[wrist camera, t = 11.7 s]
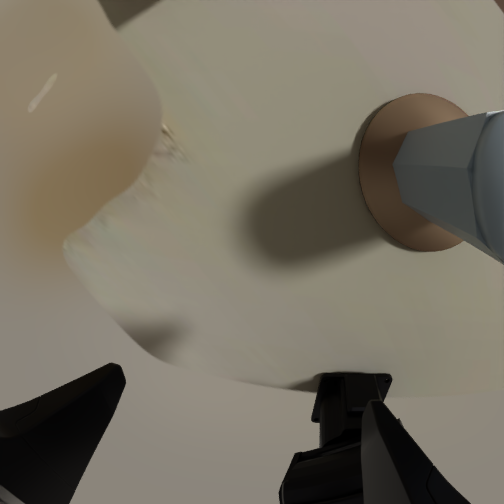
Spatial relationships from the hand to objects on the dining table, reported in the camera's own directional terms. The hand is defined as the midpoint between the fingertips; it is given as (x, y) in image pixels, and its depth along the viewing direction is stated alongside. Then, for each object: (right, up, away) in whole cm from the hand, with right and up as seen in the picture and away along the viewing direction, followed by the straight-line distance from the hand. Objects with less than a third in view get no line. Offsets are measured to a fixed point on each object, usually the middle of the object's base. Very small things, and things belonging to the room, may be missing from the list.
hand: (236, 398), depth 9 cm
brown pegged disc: (+13, +10, +7) cm, 18 cm away
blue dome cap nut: (+13, +10, +7) cm, 18 cm away
